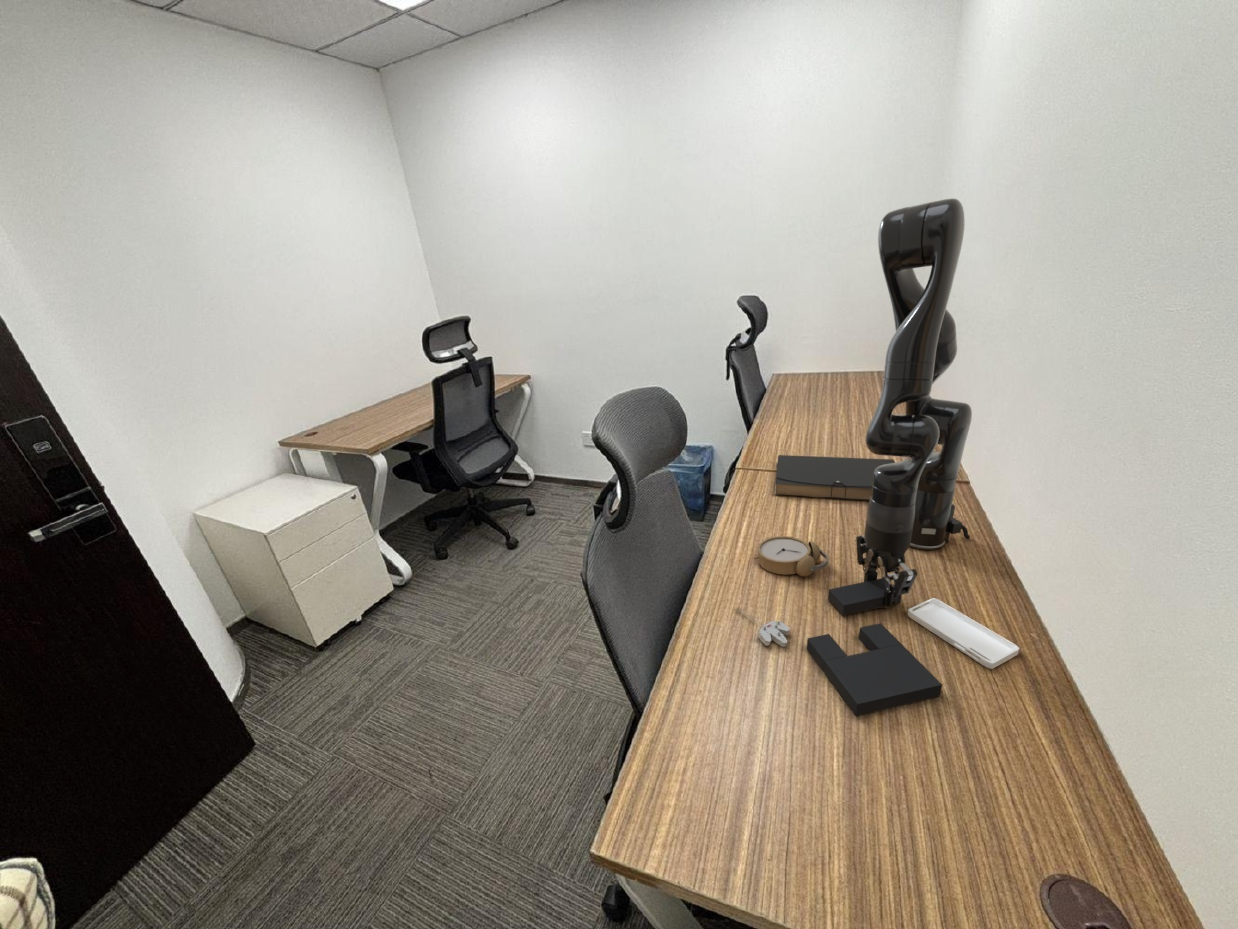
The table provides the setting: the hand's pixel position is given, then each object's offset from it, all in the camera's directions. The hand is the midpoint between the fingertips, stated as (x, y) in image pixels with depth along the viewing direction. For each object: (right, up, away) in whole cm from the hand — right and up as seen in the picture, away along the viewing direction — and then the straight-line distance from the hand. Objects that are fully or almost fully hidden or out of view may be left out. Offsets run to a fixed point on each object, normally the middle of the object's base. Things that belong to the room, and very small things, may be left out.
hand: (878, 596), depth 94 cm
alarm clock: (-12, +3, +14) cm, 19 cm away
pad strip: (-3, -1, 0) cm, 3 cm away
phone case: (+9, -4, -9) cm, 14 cm away
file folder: (+13, +20, +49) cm, 55 cm away
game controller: (-24, -5, -4) cm, 25 cm away
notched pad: (-10, -8, -15) cm, 20 cm away
